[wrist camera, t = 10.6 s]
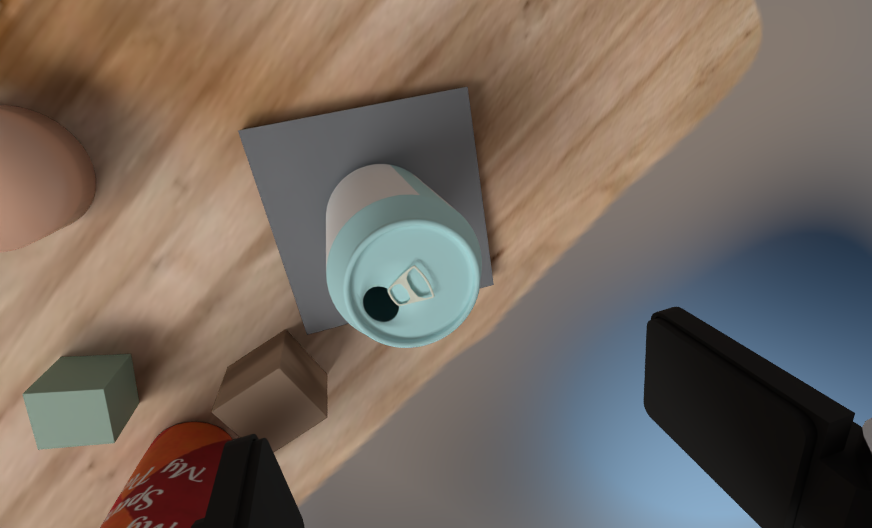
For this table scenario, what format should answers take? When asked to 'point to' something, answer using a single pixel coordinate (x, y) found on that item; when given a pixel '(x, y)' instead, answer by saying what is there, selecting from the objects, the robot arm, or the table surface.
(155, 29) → the table surface
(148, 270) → the table surface
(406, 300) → the can
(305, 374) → the walnut block
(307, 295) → the slate board
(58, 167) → the peach smooth rounded part
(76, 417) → the green block
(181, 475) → the coffee cup
